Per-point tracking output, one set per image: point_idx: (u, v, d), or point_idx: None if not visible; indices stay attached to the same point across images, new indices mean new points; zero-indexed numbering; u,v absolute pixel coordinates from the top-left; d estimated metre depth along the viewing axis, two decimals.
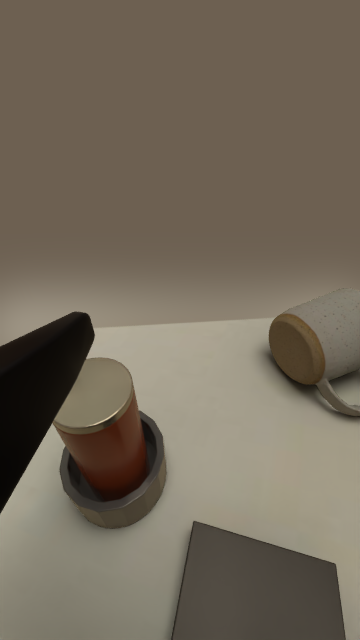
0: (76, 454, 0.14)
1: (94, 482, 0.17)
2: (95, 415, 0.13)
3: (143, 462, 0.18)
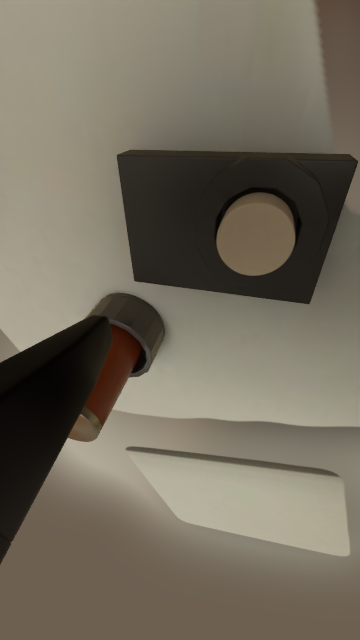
0: (116, 397, 0.20)
1: (135, 360, 0.22)
2: (80, 419, 0.17)
3: None
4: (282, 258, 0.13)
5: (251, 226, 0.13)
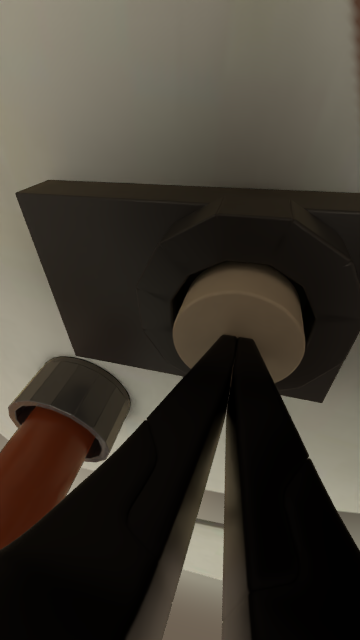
0: None
1: (85, 452, 0.17)
2: None
3: (50, 413, 0.16)
4: (282, 372, 0.08)
5: (228, 325, 0.07)
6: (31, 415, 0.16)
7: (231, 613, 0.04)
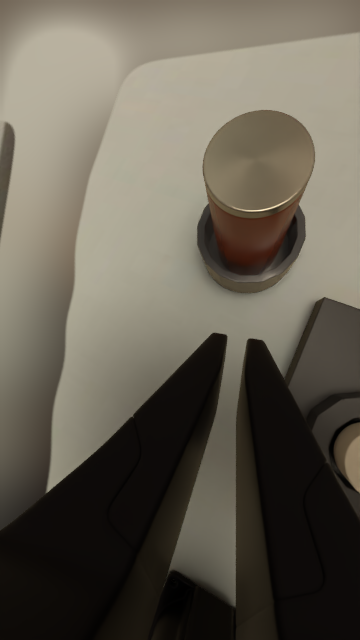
0: (230, 235, 0.14)
1: (235, 259, 0.17)
2: (269, 197, 0.11)
3: (281, 243, 0.17)
4: (359, 487, 0.14)
5: None
6: None
7: (249, 620, 0.04)
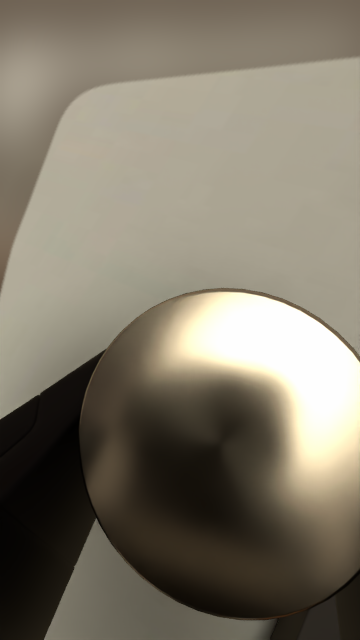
0: None
1: None
2: (255, 578, 0.04)
3: None
4: None
5: None
6: None
7: None
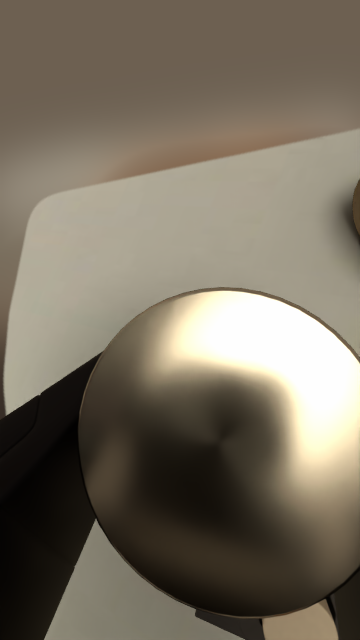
0: None
1: None
2: (254, 577, 0.04)
3: None
4: None
5: (316, 635, 0.14)
6: None
7: None
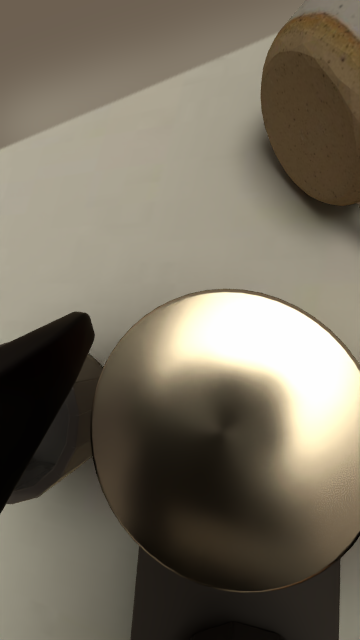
0: None
1: None
2: (254, 555, 0.04)
3: None
4: None
5: None
6: None
7: None
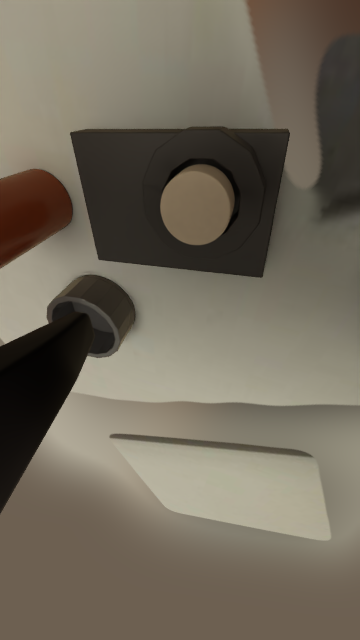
0: (4, 257, 0.16)
1: (42, 231, 0.18)
2: None
3: (17, 181, 0.17)
4: (221, 226, 0.14)
5: (189, 195, 0.13)
6: None
7: None
